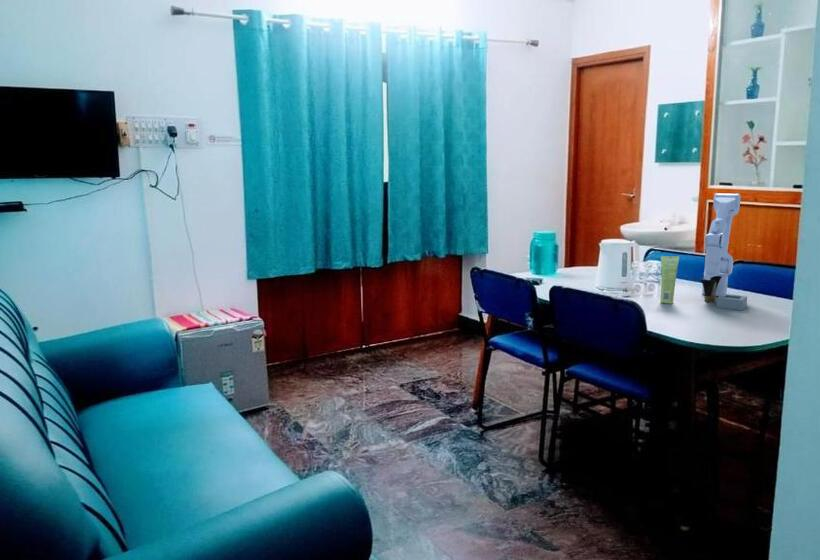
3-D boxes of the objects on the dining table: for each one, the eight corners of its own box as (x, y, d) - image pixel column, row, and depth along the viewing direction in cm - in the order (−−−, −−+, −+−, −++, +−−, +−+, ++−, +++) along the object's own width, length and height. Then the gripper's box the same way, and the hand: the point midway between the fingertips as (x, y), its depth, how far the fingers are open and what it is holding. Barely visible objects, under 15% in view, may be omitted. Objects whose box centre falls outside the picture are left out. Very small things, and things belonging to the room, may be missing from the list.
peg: (703, 301, 264) (704, 282, 262) (705, 299, 267) (707, 281, 265) (713, 302, 261) (715, 283, 260) (716, 301, 264) (717, 282, 263)
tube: (664, 300, 266) (667, 254, 263) (676, 302, 263) (679, 256, 259) (657, 302, 263) (660, 256, 259) (669, 304, 259) (672, 257, 255)
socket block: (716, 307, 253) (717, 297, 253) (722, 303, 260) (722, 293, 260) (741, 310, 248) (742, 300, 247) (746, 306, 255) (747, 296, 254)
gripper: (719, 265, 253) (716, 298, 256) (727, 260, 264) (724, 292, 267) (700, 263, 257) (697, 296, 260) (709, 259, 268) (706, 290, 271)
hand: (710, 294), depth 264 cm, fingers open, 7 cm apart
